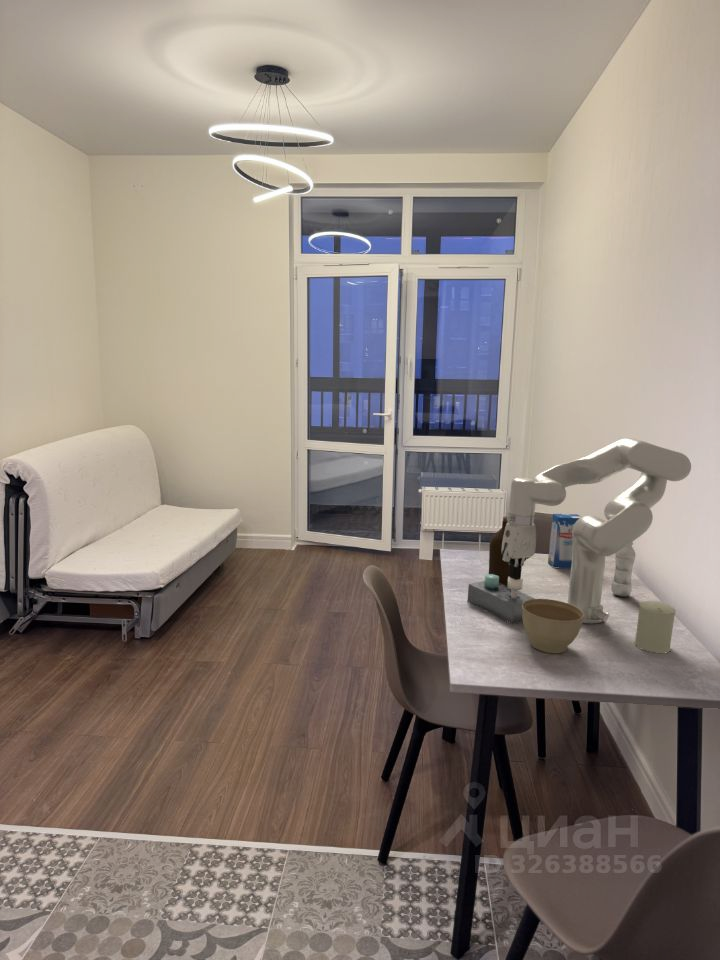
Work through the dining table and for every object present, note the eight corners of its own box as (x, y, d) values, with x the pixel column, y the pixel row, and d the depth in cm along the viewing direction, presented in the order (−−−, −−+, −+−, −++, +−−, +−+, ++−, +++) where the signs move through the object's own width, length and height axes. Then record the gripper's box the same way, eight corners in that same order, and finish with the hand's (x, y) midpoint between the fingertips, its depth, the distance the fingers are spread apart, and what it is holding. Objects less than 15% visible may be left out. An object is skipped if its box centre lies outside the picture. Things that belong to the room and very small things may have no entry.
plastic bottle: (615, 598, 217) (622, 541, 213) (607, 591, 223) (613, 535, 220) (634, 599, 217) (641, 541, 213) (625, 592, 223) (632, 536, 220)
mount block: (535, 618, 196) (537, 599, 195) (512, 624, 191) (513, 604, 190) (490, 597, 212) (491, 579, 211) (467, 601, 207) (468, 583, 206)
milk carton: (572, 563, 254) (577, 514, 251) (578, 568, 248) (584, 518, 245) (547, 563, 254) (552, 513, 250) (553, 567, 247) (558, 517, 244)
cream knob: (523, 607, 196) (526, 579, 195) (513, 609, 194) (515, 581, 192) (513, 602, 200) (515, 575, 198) (502, 605, 198) (505, 577, 196)
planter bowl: (573, 665, 165) (577, 625, 164) (511, 649, 173) (515, 611, 171) (584, 643, 179) (589, 606, 177) (527, 629, 187) (530, 594, 185)
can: (639, 651, 176) (645, 610, 173) (630, 638, 185) (635, 598, 182) (675, 655, 174) (681, 613, 172) (664, 641, 183) (669, 601, 181)
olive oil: (493, 593, 216) (499, 521, 211) (481, 583, 226) (487, 513, 222) (522, 592, 218) (529, 521, 213) (509, 582, 228) (515, 513, 224)
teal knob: (499, 604, 205) (502, 577, 203) (489, 606, 203) (491, 579, 201) (490, 600, 209) (492, 573, 207) (479, 602, 206) (482, 575, 205)
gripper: (511, 524, 185) (505, 585, 188) (547, 520, 193) (541, 578, 196) (493, 518, 191) (487, 577, 194) (529, 514, 199) (523, 571, 202)
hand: (514, 578), depth 195 cm, fingers closed
